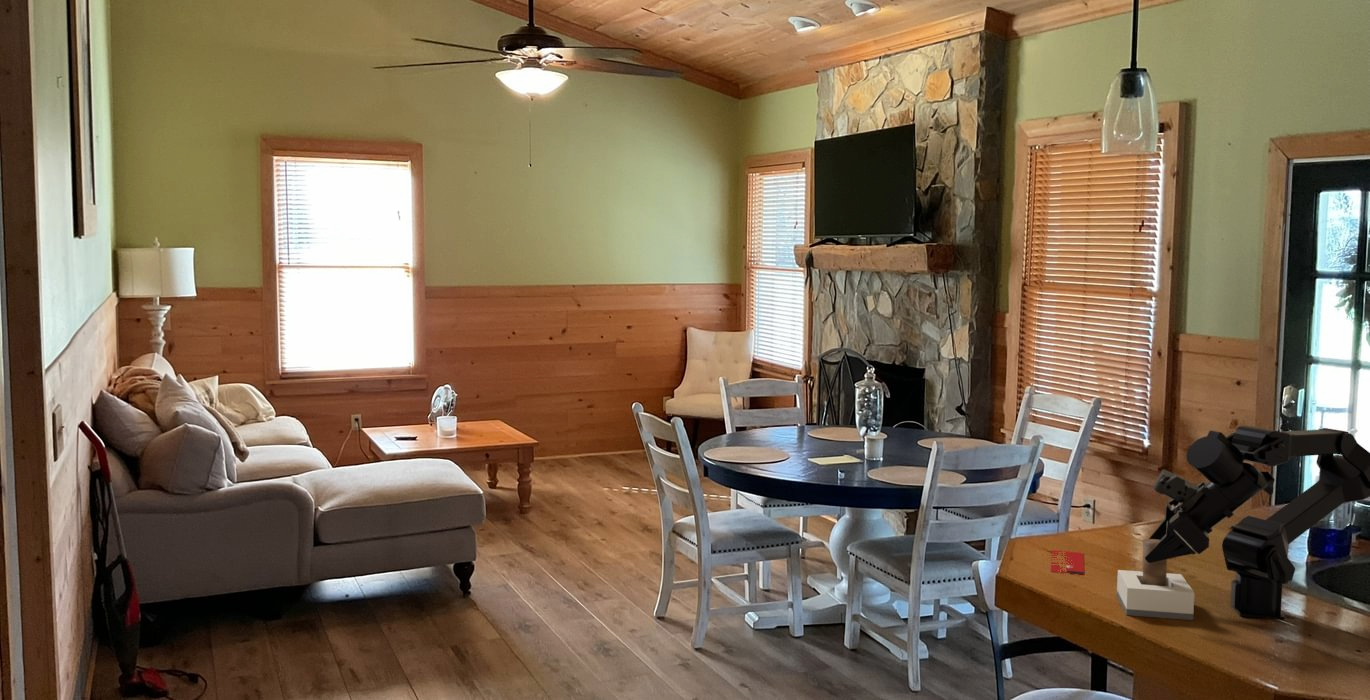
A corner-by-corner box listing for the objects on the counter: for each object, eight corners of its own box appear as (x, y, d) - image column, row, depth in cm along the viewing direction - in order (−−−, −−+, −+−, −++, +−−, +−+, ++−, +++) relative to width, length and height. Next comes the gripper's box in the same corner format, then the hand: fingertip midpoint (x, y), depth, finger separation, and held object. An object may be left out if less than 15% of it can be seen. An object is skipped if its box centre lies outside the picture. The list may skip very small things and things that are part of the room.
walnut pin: (1163, 598, 178) (1164, 539, 178) (1168, 605, 175) (1168, 545, 174) (1140, 597, 179) (1141, 538, 179) (1144, 604, 176) (1145, 544, 175)
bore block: (1179, 600, 181) (1181, 574, 181) (1193, 620, 171) (1194, 592, 171) (1116, 595, 183) (1117, 569, 183) (1126, 615, 174) (1127, 587, 173)
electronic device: (1052, 552, 211) (1050, 574, 197) (1052, 549, 211) (1050, 571, 197) (1083, 555, 209) (1084, 577, 195) (1083, 552, 209) (1084, 574, 195)
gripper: (1185, 446, 182) (1113, 503, 187) (1188, 466, 165) (1108, 529, 170) (1235, 495, 179) (1160, 552, 185) (1243, 522, 162) (1161, 583, 168)
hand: (1146, 553), depth 177 cm, fingers open, 9 cm apart
